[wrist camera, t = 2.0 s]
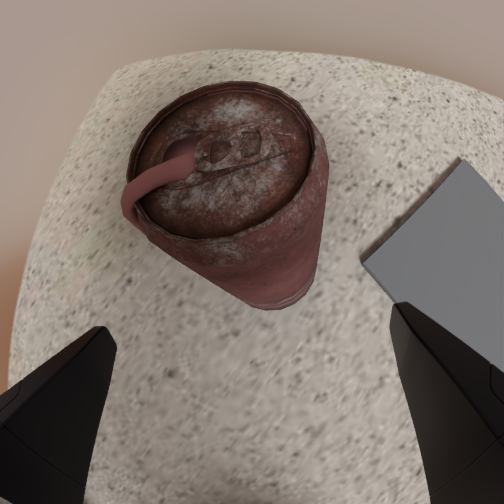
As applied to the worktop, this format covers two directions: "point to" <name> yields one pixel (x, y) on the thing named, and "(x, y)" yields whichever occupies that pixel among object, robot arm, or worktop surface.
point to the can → (233, 189)
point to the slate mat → (452, 262)
